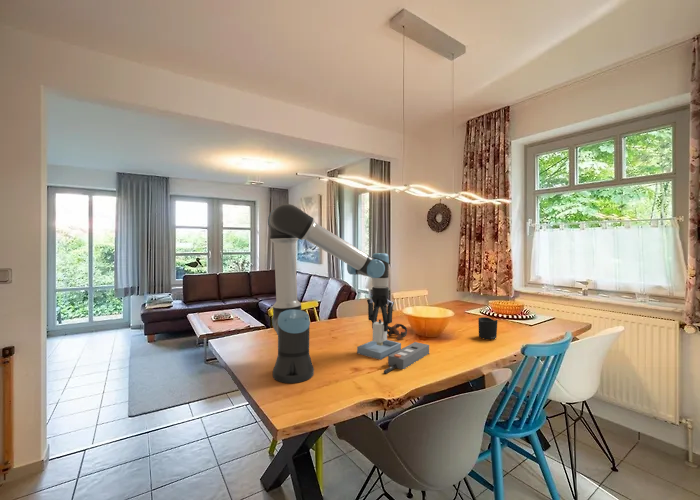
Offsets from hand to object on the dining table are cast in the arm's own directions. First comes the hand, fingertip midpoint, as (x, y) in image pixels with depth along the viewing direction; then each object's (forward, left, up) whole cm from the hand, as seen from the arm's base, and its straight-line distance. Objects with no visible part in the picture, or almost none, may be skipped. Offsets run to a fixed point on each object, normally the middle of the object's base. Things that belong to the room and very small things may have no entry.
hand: (379, 337), depth 146 cm
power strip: (-4, -15, -7) cm, 17 cm away
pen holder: (+56, -32, -7) cm, 65 cm away
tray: (0, 0, -7) cm, 7 cm away
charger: (0, 0, -4) cm, 4 cm away
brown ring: (+24, +6, -7) cm, 26 cm away
